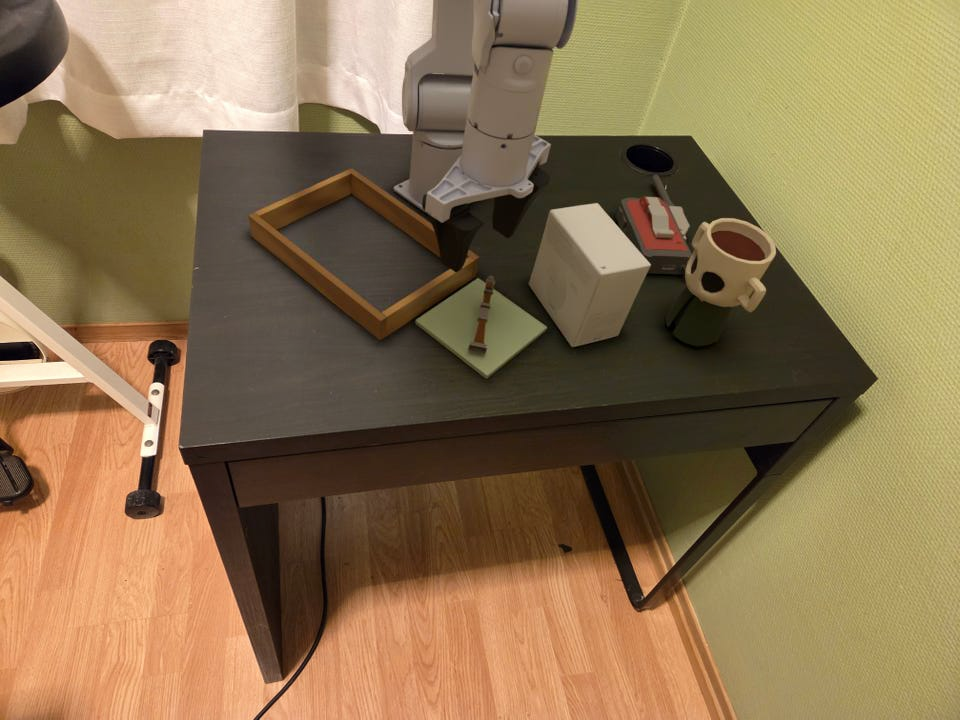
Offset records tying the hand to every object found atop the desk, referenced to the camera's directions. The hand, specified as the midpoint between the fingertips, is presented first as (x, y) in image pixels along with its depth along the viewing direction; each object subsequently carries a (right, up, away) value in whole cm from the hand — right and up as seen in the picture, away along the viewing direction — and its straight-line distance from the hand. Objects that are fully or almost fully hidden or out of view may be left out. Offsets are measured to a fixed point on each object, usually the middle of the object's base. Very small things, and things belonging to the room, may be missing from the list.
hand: (477, 248), depth 64 cm
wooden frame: (-13, +1, +11) cm, 17 cm away
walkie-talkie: (+22, +6, +22) cm, 32 cm away
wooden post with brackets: (0, -8, +5) cm, 9 cm away
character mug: (+24, -7, +11) cm, 27 cm away
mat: (0, -7, +6) cm, 10 cm away
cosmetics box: (+11, -5, +10) cm, 16 cm away
